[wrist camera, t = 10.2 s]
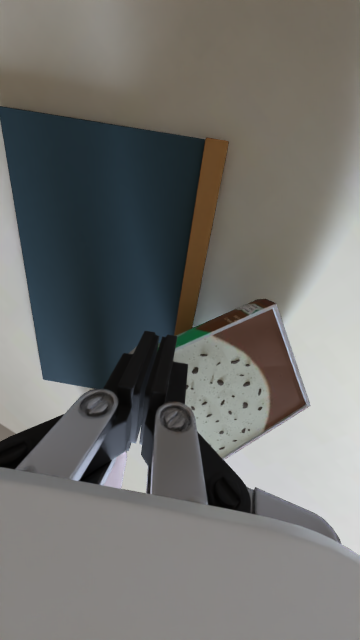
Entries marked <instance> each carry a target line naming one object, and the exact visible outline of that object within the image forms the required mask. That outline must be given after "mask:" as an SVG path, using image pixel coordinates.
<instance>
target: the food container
mask: <svg viewBox="0 0 360 640" xmlns="http://www.w3.org/2000/svg"><path fill="white" fill-rule="evenodd" d="M176 336H177V342H176V348H175V354H174V360H173V361H174V362H180V363H185V364H188V373H187V385H186V397H185V405H187V406H188V407H189V408H190V409H191V410H192V411H193V413H194V416H195V419H196V426H197V431H198V433H199V434H200V435H201V436H202V437H203V438H204V439H205V440H206V441H207V442H208V444H209V445H210V446H211V447H212V448H213V449H214V450H215V451H216V452H217V453H218V454H219V456H220V457H221V458H222V459H223V460H225V459H226V458H228V457H229V456H231V455H233V454H234V453H236V452H237V451H239V450H241V449H242V448H244V447H245V446H247V445H249V444H250V443H252V442H253V441H255V440H257V439H258V438H260V437H261V436H263V435H265V434H266V433H268V432H269V431H271V430H273V429H274V428H276V427H277V426H279V425H281V424H282V423H284V422H285V421H287V420H289V419H290V418H292V417H293V416H295V415H297V414H298V413H300V412H301V411H303V410H305V409H306V408H308V407H309V406H311V405H310V402H309V399H308V396H307V393H306V390H305V387H304V384H303V382H302V379H301V376H300V373H299V370H298V367H297V364H296V361H295V358H294V355H293V352H292V349H291V346H290V343H289V340H288V337H287V334H286V331H285V328H284V325H283V322H282V319H281V316H280V313H279V310H278V307H277V304H276V303H275V302H272V301H270V300H267V299H258V300H255V301H253V302H250V303H248V304H246V305H244V306H242V307H239V308H237V309H235V310H233V311H230V312H228V313H226V314H224V315H221V316H219V317H217V318H215V319H212V320H210V321H208V322H206V323H203V324H201V325H199V326H197V327H194V328H192V329H190V330H188V331H185V332H183V333H181V334H179V335H176ZM159 345H160V343H158V348H159ZM135 349H136V347H135V348H134V349H133V350H132V351H131V352H130V353H128V354H133V353H134V351H135Z"/></svg>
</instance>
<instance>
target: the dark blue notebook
mask: <svg viewBox="0 0 360 640" xmlns="http://www.w3.org/2000/svg"><path fill="white" fill-rule="evenodd" d="M0 120H1V127H2V133H3V139H4V145H5V151H6V157H7V163H8V169H9V175H10V181H11V187H12V193H13V199H14V205H15V212H16V218H17V224H18V230H19V236H20V242H21V248H22V254H23V260H24V266H25V272H26V278H27V284H28V290H29V297H30V303H31V309H32V315H33V321H34V327H35V333H36V339H37V345H38V351H39V357H40V363H41V369H42V375H43V380H49V381H55V382H60V383H66V384H71V385H77V386H83V387H88V388H94V389H103V388H104V386H105V384H106V382H107V381H108V379H109V377H110V375H111V374H112V372H113V370H114V368H115V367H116V365H117V363H118V361H119V360H120V358H121V356H122V354H123V353H130V352H131V351H132V350H133V349H134V348H135V347H137V345H138V343H139V341H140V339H141V337H142V335H143V333H144V331H151V332H156V335H157V336H159V343H160V342H161V339H162V336H163V337H166V336H167V334H168V335H174V336H176V335H179V334H181V333H183V332H185V331H188V330H190V329H192V326H193V321H194V316H195V311H196V306H197V301H198V295H199V290H200V285H201V280H202V275H203V270H204V265H205V260H206V255H207V250H208V245H209V240H210V235H211V230H212V225H213V220H214V215H215V209H216V204H217V199H218V194H219V189H220V184H221V179H222V174H223V169H224V164H225V159H226V154H227V149H228V144H229V141H225V140H219V139H212V138H206V139H200V138H193V137H187V136H181V135H175V134H169V133H163V132H156V131H150V130H144V129H138V128H132V127H126V126H119V125H113V124H107V123H101V122H95V121H89V120H82V119H76V118H70V117H64V116H58V115H52V114H45V113H39V112H33V111H27V110H21V109H15V108H8V107H2V106H0Z"/></svg>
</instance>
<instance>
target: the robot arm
mask: <svg viewBox="0 0 360 640" xmlns="http://www.w3.org/2000/svg"><path fill="white" fill-rule="evenodd" d="M176 342H177V336H174V335H168V334H167V336H166V337H163V336H162V339H161V342H160V345H159V348H158V343H159V336H157V335H156V332H151V331H144V333H143V335H142V337H141V339H140V341H139V343H138V345H137V347H136V349H135V351H134V353H133V354H128V353H123V354H122V356H121V358H120V360H119V361H118V363H117V365H116V367H115V368H114V370H113V372H112V374H111V375H110V377H109V379H108V381H107V382H106V384H105V386H104V388H103V389H94V390H90V391H88V392H86V393H84V394H83V395H82V396H81V397H80V398H79V399H78V400H77V401H76V402H75V403H74V404H73V405H72V406H71V408H70V409H69V410H68V411H67V412H66V413H65V414H63V415H61V416H58V417H56V418H54V419H51V420H49V421H46V422H44V423H42V424H39V425H37V426H34V427H32V428H30V429H27V430H25V431H22V432H20V433H18V434H15V435H13V436H10V437H8V438H7V439H5V440H2V441H1V442H0V640H360V555H358V554H357V553H355V552H354V551H352V550H351V549H349V548H347V547H345V546H344V545H342V544H341V542H340V539H339V537H338V536H337V534H336V533H335V531H334V530H333V528H332V527H331V526H330V525H329V524H328V523H327V522H326V521H325V520H324V519H323V518H322V517H320V516H318V515H317V514H315V513H313V512H311V511H309V510H306V509H304V508H302V507H299V506H297V505H295V504H293V503H290V502H288V501H286V500H283V499H281V498H279V497H277V496H274V495H272V494H270V493H267V492H265V491H263V490H261V489H258V488H256V487H255V489H254V490H252V489H250V488H248V487H246V485H245V484H244V483H243V481H242V480H241V479H240V477H239V476H238V475H237V474H236V473H235V472H234V471H233V470H232V469H231V468H230V467H229V465H228V464H227V463H226V462H225V461H224V460H223V459H222V458H221V457H220V456H219V454H218V453H217V452H216V451H215V450H214V449H213V448H212V447H211V446H210V445H209V444H208V442H207V441H206V440H205V439H204V438H203V437H202V436H201V435H200V434H199V433H198V431H197V426H196V419H195V416H194V413H193V411H192V410H191V409H190V408H189V407H188V406H187V405H185V397H186V385H187V373H188V364H185V363H180V362H174V361H173V360H174V354H175V348H176ZM140 427H141V434H140V444H142V451H141V455H142V457H143V459H144V460H145V462H146V463H147V465H148V473H147V488H146V493H141V492H136V491H130V490H125V489H119V488H114V487H109V486H104V484H105V482H106V480H107V478H108V476H109V474H110V472H111V470H112V468H113V466H114V464H115V461H116V457H118V456H119V455H121V454H122V453H124V452H125V450H126V451H129V448H130V445H131V443H136V441H137V438H138V434H139V431H140Z"/></svg>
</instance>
